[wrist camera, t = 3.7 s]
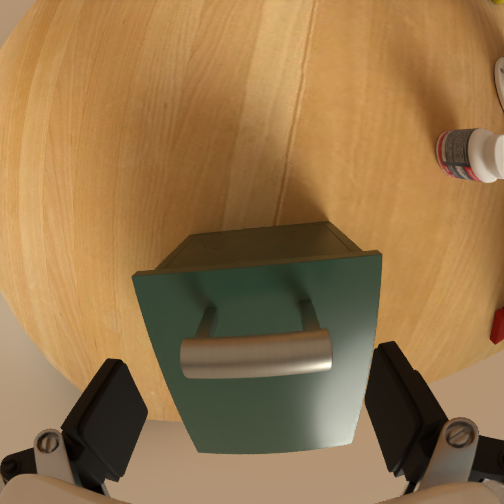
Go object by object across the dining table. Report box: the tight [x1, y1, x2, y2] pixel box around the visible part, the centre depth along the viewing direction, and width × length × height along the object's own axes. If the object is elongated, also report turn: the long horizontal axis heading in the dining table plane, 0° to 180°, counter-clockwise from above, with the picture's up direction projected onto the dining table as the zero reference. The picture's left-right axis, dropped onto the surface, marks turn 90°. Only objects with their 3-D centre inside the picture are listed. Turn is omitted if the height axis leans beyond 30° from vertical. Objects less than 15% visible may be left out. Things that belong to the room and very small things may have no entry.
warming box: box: [154, 222, 362, 270], centre depth 23 cm, size 17×14×12 cm
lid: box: [132, 250, 382, 454], centre depth 14 cm, size 17×14×6 cm
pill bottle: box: [436, 128, 504, 183], centre depth 18 cm, size 5×5×9 cm
